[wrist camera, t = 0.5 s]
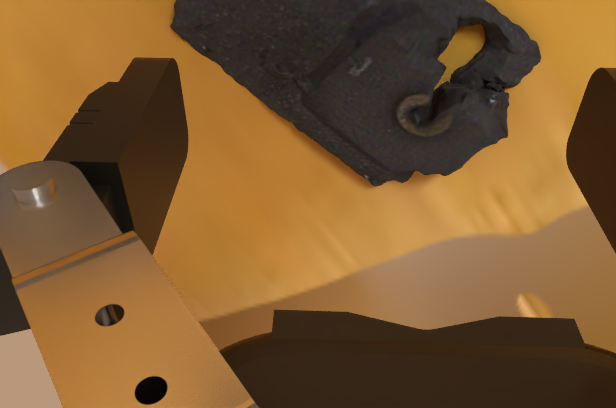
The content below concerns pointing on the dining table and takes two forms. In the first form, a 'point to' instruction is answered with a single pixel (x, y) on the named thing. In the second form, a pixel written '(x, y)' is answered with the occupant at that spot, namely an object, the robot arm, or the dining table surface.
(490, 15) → the dark slate chunk
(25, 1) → the dining table surface
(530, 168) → the dining table surface
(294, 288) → the dining table surface
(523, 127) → the dining table surface
